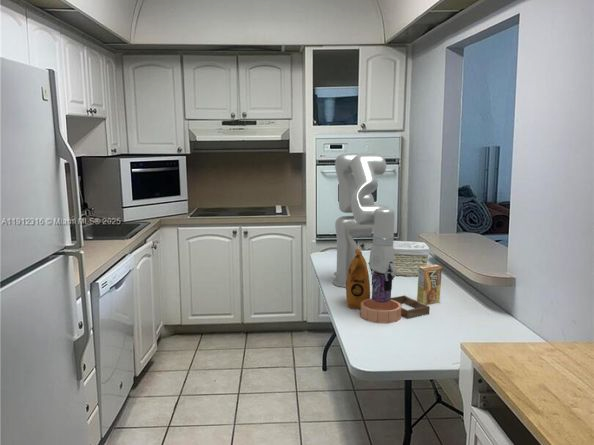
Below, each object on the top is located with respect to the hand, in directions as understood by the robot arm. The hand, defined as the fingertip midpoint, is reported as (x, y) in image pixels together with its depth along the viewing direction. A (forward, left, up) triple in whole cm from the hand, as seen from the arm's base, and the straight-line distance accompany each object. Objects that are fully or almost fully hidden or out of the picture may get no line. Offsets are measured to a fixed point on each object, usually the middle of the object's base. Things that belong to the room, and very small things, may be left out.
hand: (381, 287), depth 187 cm
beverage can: (0, 0, -5) cm, 5 cm away
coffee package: (-15, 0, -12) cm, 19 cm away
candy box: (-4, +27, -12) cm, 30 cm away
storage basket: (-44, +46, -12) cm, 65 cm away
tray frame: (-1, +13, -11) cm, 17 cm away
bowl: (0, 0, -11) cm, 11 cm away
